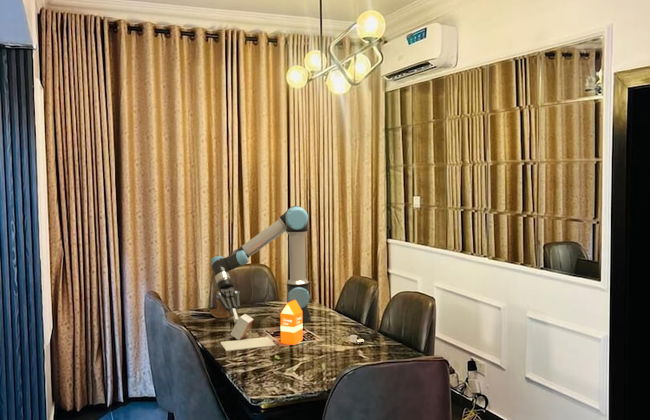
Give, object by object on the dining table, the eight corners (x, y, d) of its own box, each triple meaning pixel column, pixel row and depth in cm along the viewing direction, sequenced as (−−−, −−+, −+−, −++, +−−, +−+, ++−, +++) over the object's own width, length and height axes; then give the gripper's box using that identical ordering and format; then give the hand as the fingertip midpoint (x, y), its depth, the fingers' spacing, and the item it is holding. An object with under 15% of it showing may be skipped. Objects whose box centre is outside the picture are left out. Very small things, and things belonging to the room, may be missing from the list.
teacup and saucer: (365, 342, 280) (365, 334, 280) (361, 347, 273) (361, 338, 272) (348, 340, 283) (348, 332, 283) (343, 345, 276) (343, 337, 275)
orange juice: (302, 340, 283) (302, 300, 282) (294, 344, 275) (294, 303, 274) (288, 338, 287) (288, 298, 286) (280, 343, 279) (279, 302, 278)
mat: (268, 337, 288) (268, 336, 288) (276, 345, 274) (276, 344, 274) (220, 342, 280) (220, 341, 280) (226, 351, 266) (226, 350, 266)
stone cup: (235, 318, 328) (235, 292, 328) (215, 320, 324) (214, 294, 323) (229, 312, 342) (228, 287, 341) (209, 314, 337) (208, 289, 337)
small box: (238, 340, 283) (248, 323, 281) (229, 334, 284) (239, 316, 282) (244, 336, 291) (254, 319, 289) (235, 330, 292) (245, 313, 290)
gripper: (234, 285, 305) (246, 323, 292) (210, 288, 299) (222, 326, 285) (237, 277, 301) (250, 314, 287) (213, 279, 294) (226, 318, 280)
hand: (236, 320), depth 286 cm, fingers closed
